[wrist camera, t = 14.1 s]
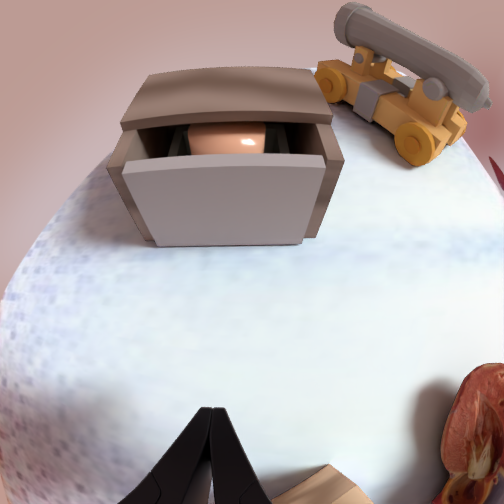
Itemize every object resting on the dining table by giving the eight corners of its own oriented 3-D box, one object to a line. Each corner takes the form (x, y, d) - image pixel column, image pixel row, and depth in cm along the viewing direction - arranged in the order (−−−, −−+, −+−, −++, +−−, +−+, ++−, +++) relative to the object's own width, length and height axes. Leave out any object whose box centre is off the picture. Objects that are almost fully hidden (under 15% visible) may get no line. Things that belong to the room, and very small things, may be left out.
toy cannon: (432, 188, 25) (494, 83, 12) (302, 89, 33) (315, -4, 20) (468, 152, 30) (507, 81, 17) (366, 77, 38) (383, 8, 25)
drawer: (301, 244, 21) (326, 167, 14) (157, 246, 20) (121, 173, 13) (287, 155, 25) (297, 84, 18) (175, 158, 25) (159, 88, 18)
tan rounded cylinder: (262, 211, 21) (267, 153, 16) (195, 211, 21) (181, 155, 16) (260, 164, 23) (264, 108, 18) (202, 164, 23) (193, 109, 18)
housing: (315, 237, 21) (348, 150, 13) (145, 240, 21) (101, 158, 13) (297, 146, 26) (310, 69, 18) (166, 149, 26) (149, 75, 18)
